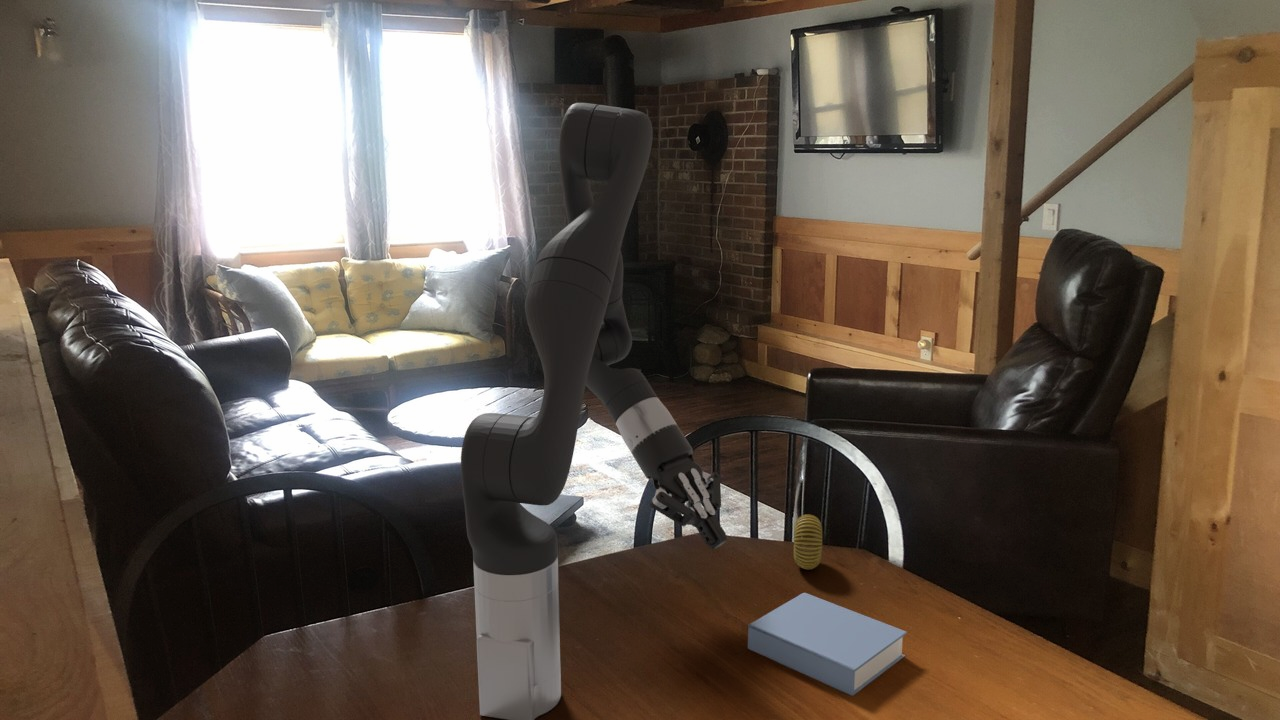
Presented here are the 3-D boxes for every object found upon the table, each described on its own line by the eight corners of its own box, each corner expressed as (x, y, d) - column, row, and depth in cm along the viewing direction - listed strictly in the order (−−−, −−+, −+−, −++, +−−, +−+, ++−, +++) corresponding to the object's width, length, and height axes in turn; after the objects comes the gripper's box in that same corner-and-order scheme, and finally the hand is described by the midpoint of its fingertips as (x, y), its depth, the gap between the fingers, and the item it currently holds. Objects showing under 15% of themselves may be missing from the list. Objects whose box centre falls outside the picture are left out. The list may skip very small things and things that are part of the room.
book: (803, 616, 128) (905, 657, 118) (747, 650, 119) (852, 697, 109) (804, 592, 127) (906, 631, 117) (748, 624, 119) (853, 670, 108)
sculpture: (821, 579, 138) (823, 527, 136) (793, 578, 138) (794, 526, 136) (819, 556, 145) (822, 506, 144) (793, 554, 146) (794, 505, 144)
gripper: (634, 433, 126) (703, 546, 121) (699, 414, 136) (766, 518, 130) (606, 462, 131) (671, 572, 125) (671, 442, 140) (734, 543, 135)
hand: (720, 544), depth 128 cm, fingers closed
